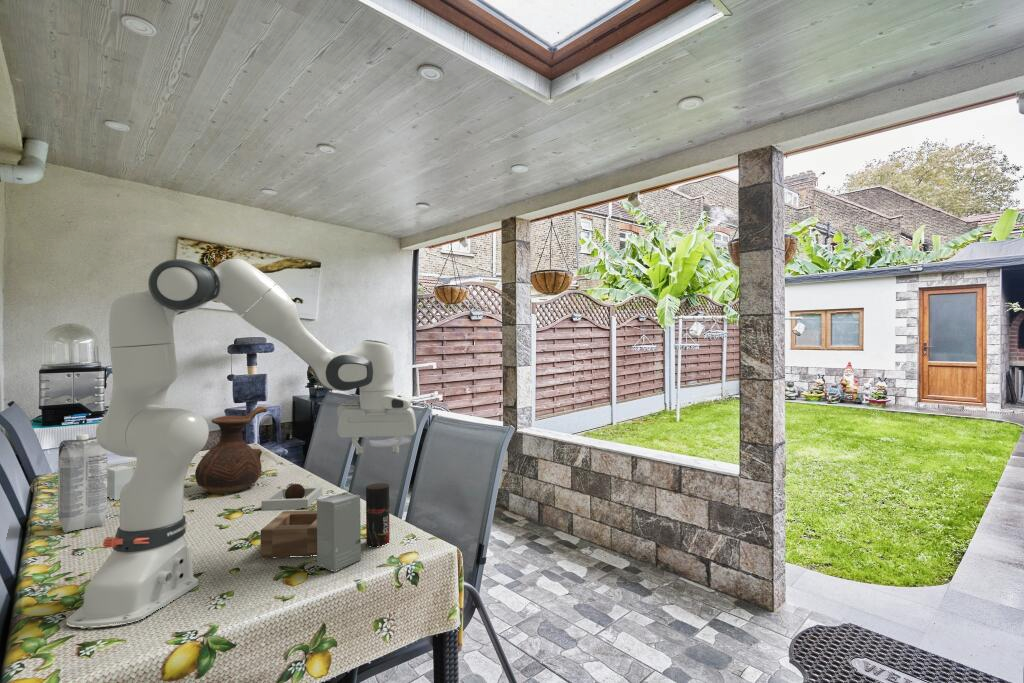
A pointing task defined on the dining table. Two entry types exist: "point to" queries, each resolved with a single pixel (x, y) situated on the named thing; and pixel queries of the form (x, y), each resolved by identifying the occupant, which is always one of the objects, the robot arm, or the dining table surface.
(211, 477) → the jug
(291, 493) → the compass
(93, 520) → the juice carton
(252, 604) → the dining table surface
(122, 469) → the small box
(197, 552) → the dining table surface
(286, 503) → the watch tray
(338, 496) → the skincare box
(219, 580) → the dining table surface
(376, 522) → the deodorant
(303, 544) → the holder
